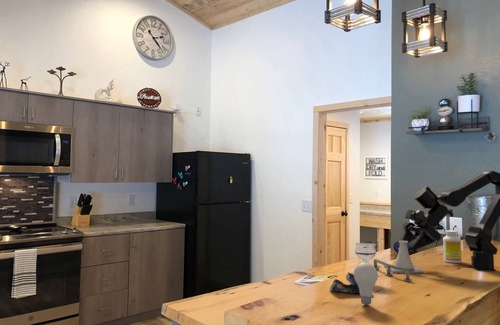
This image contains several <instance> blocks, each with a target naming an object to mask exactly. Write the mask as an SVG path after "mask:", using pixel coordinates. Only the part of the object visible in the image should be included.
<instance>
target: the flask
mask: <svg viewBox="0 0 500 325" xmlns="http://www.w3.org/2000/svg"><path fill="white" fill-rule="evenodd" d="M398 243H399V249H398V252H397V253H398V254H397V255H396V256H397V257H396V259H395V261H394V262H395V263H394V266H398V267H402V268H406V269H408V270H411V269H414V266H415V265H414V264H413V261H412V259H411V256H410V254H409V248H408V244H409V243H408V241H402V240H399V241H398ZM407 243H408V244H407Z"/></svg>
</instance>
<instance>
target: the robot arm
mask: <svg viewBox="0 0 500 325" xmlns="http://www.w3.org/2000/svg"><path fill="white" fill-rule="evenodd" d="M490 184H492V185H494V186H495V187H494V189H495V193H494V196H493V197H492V199H491V201H490V203H489V204H488V207H486V210H485V212H484V213H483V216H482V217H481V219H480V221H479V222H478V224H477V225H476V226H474V225H473V226H472V225H471V226H469V227H468V230H467V231H466V233H465V234H464V235H465V238H464V241H465V244H466V246H468V249H469V251H470V252H472V255H471V256H470V257H471V258H470V259H471V260H470V261H471V262H470V263H471V268H473V269H475V270H477V271H488V272H491V271H492V272H496V271H497V270H496V269H495V260H494V259H495V256H494V255H497V254H498V248H497V247H496V246H495V245H494V244H493V243H492V241H493V229H494V228H495V226H496V224H497V222H498V221H499V218H500V172H499V171H496V170H486V171H483V172H481V174H479V175H477V176H476V177H474V178H472V179H470V180H469V181H467V182H465V183H463V184H461V185H460V186H458V187H454V188H450V189H447V190H445V191H444V190H443V191H442V192H440V194H437V195H436V193H434V192H433V191H432V190H431V188H430V187H429V186H423V188H421V189H420V190H418V191H416V192H415V193H414V194H413V197H412V198H413V199H414V200H415V201H416V202H417V203H418V204H419V205H420V206H421V207H422V208H423V209H424V210H425V209H428V210H427V212H426V213H425V211H424V210H421V209H418V210H416V211H415V210H412V209H407V211H406V213H405V216H404V218H405V219H408V220H411V221H412V222H411V221H405V222H404V223H403V224H402V228H403V231H404V233H403V235H402V236H403V237H402V238H401V241H408V243H407V245H408V244H409V243H411V242H412V241H415V240H416V241H415V242H414V243H413V245H412V246H411V250H412V251H416V250H418V249H421V248H423V247H427V246H428V245H431V244H435V243H439V242H440V241H441V240H442V233H440V231H438V230H437V228H439V227H441V224H440V223H441V222H442V221H443V220H444V219H445V218H446V217H449V218H450V217H451V218H453V217H454V212H453V211H454V210H453V209H449V208H448V207H453V208H454V207H459V206H460V205H461V204H463V203H464V202H465V201H466V199H467V198H468V197H469V196H470V195H471V194H473V193H476V192H477V191H479V190H480V189H482V188H484V187H486V186H487V185H490Z"/></svg>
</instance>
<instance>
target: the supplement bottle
mask: <svg viewBox="0 0 500 325" xmlns="http://www.w3.org/2000/svg"><path fill="white" fill-rule="evenodd" d="M458 234H459V231H458V230H450V229H449V230H448V229H447V230H445V236H443V238H442V243H443V244H442V246H443V247H442V248H443V249H442V250H443V251H442V252H443V261H444V262H446V263H449V262H450V263H451V264H460V263H462V260H463V259H462V243H461V242H462V239H461V237H459V236H458ZM450 263H449V264H450Z"/></svg>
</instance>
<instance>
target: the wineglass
mask: <svg viewBox="0 0 500 325" xmlns="http://www.w3.org/2000/svg"><path fill="white" fill-rule="evenodd" d="M354 245H355V248H354V253H355V255H356V256H357V257H358V259H360V260H362V262H363V263H364V262H365V263H369V260H372V259H373V258H374V257H376V255H377V250H376V248H375V247H376V246H377V244H375V243H370V242H369V243H368V242H357V243H356V242H355V244H354Z"/></svg>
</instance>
